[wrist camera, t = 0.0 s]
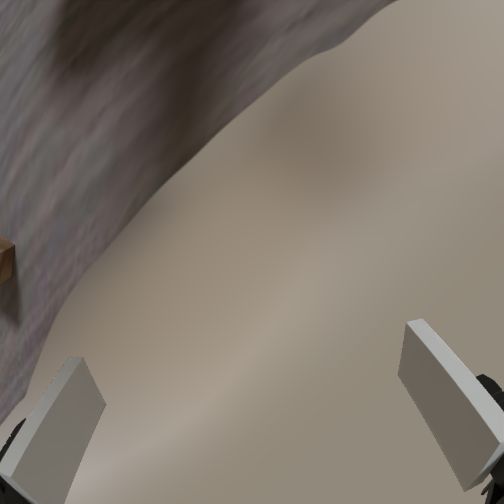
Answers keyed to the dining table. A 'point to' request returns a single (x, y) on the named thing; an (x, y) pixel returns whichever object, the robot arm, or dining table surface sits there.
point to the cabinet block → (6, 259)
